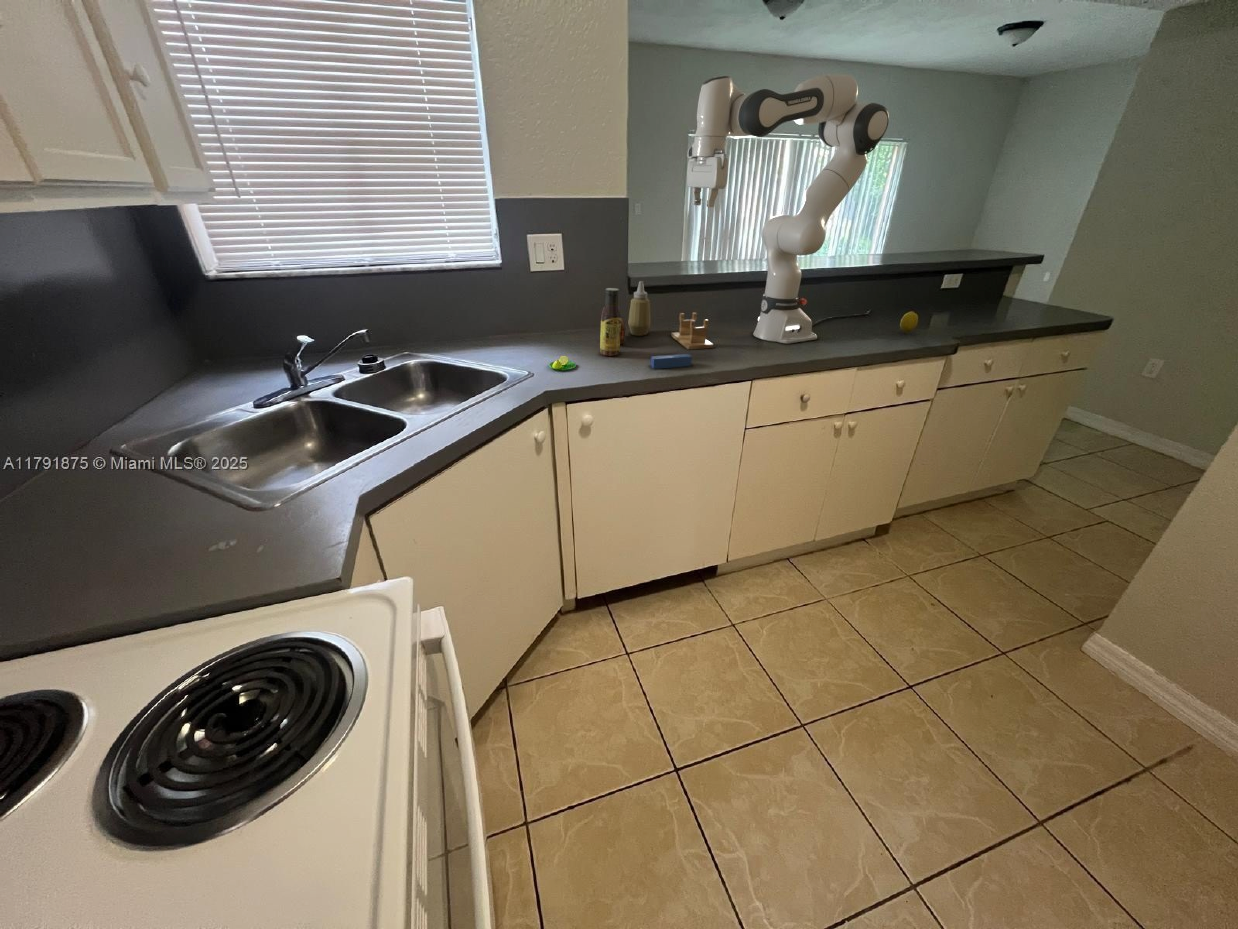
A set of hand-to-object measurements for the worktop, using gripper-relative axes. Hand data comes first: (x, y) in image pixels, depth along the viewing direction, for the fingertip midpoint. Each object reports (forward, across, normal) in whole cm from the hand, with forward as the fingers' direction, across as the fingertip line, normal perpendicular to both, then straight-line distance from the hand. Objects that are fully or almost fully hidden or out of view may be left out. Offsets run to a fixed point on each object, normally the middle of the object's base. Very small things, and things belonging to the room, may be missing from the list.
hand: (703, 206), depth 142 cm
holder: (+42, +5, -3) cm, 42 cm away
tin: (+42, +11, +23) cm, 49 cm away
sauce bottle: (+42, -2, +28) cm, 51 cm away
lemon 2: (+43, -11, +45) cm, 63 cm away
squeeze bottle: (+42, +18, +12) cm, 47 cm away
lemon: (+41, -1, -88) cm, 97 cm away
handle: (+42, -17, +13) cm, 47 cm away
